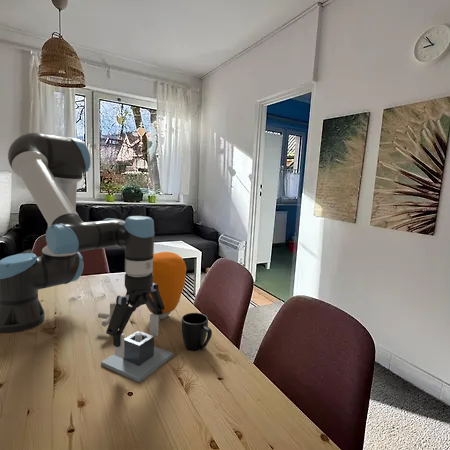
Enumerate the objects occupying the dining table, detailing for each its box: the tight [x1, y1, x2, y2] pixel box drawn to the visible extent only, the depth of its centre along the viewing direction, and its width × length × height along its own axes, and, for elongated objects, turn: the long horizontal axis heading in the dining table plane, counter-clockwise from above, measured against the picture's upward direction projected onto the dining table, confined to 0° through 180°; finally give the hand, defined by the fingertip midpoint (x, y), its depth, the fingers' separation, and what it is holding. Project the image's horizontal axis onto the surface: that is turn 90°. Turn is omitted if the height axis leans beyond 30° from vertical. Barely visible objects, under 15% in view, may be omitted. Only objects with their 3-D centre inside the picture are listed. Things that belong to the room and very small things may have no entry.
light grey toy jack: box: [97, 301, 116, 328], centre depth 102 cm, size 10×10×10 cm
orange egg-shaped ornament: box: [145, 251, 187, 320], centre depth 113 cm, size 17×17×25 cm
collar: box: [123, 330, 155, 366], centre depth 87 cm, size 6×6×6 cm
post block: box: [100, 333, 174, 383], centre depth 87 cm, size 14×14×8 cm
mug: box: [181, 312, 213, 352], centre depth 94 cm, size 8×12×10 cm
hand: (137, 344), depth 87 cm, fingers open, 13 cm apart
